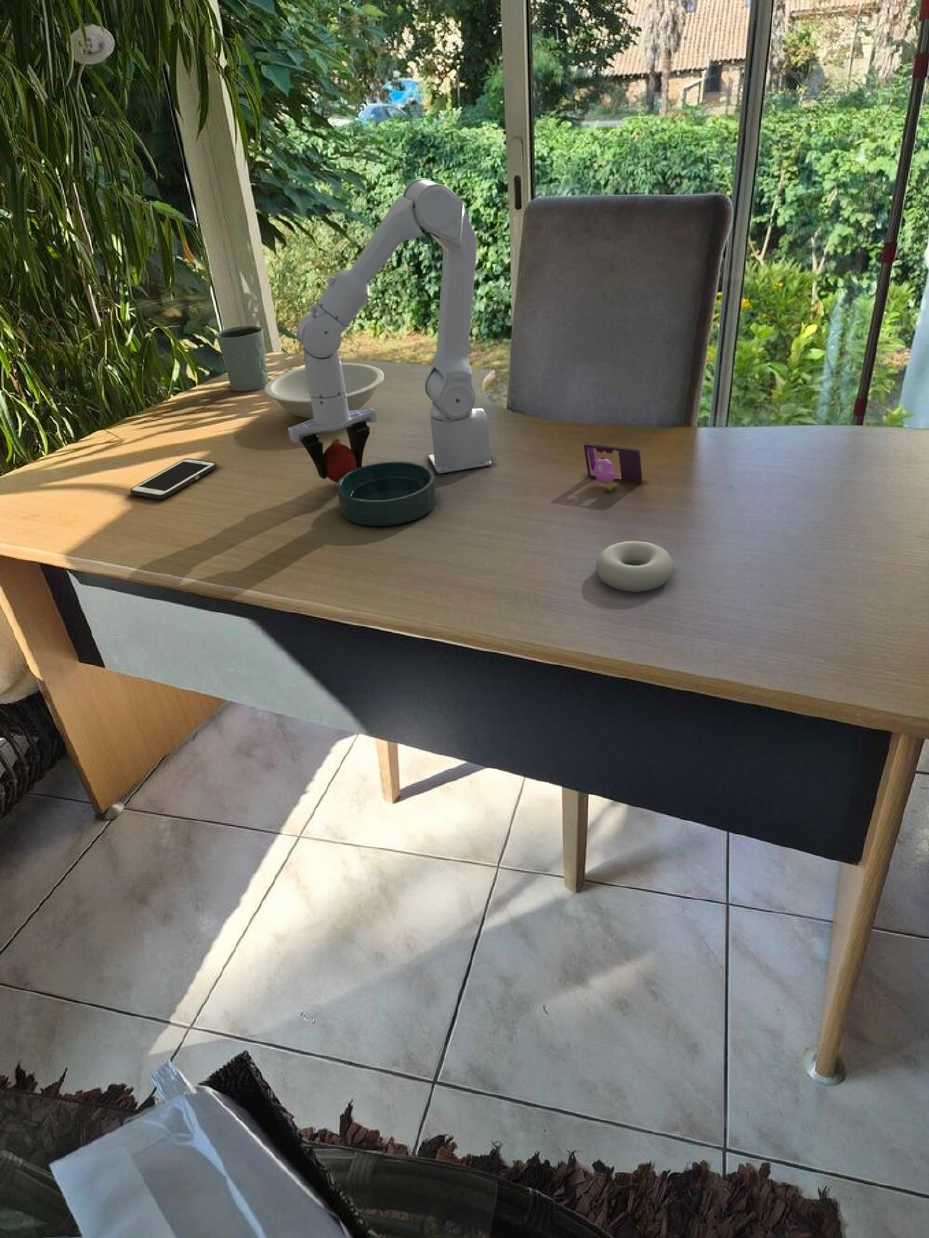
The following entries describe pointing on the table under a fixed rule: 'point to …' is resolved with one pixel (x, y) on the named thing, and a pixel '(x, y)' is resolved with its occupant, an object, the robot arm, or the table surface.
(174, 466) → the cell phone
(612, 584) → the donut
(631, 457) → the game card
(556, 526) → the table surface
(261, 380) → the textured green cup
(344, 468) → the onion
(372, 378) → the soup bowl
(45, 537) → the table surface
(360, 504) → the teal bowl
